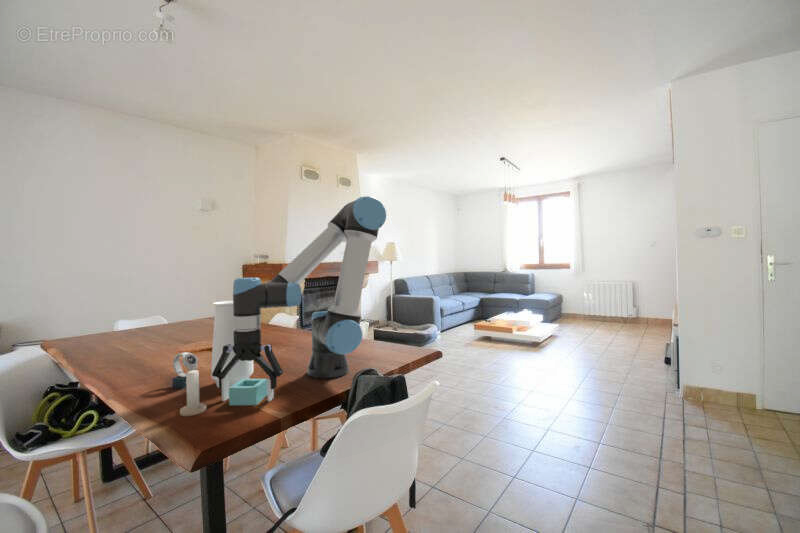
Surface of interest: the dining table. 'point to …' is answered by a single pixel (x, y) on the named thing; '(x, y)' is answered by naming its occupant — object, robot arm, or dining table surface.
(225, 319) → the vase
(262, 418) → the dining table surface
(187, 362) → the watch
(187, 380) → the post
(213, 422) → the dining table surface
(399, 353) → the dining table surface
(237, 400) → the teal storage bin
